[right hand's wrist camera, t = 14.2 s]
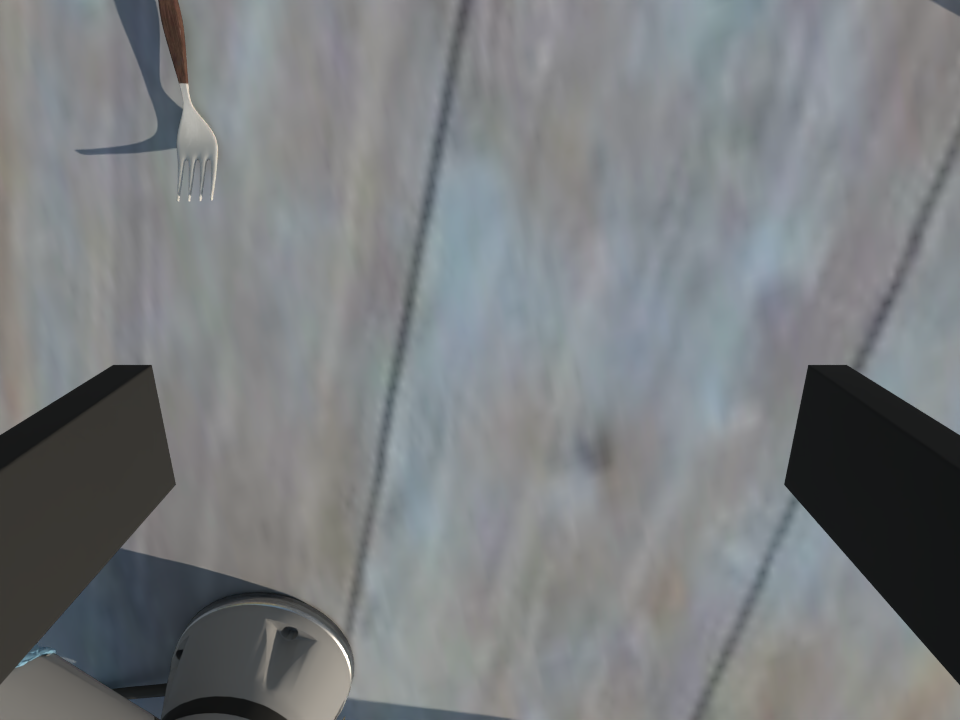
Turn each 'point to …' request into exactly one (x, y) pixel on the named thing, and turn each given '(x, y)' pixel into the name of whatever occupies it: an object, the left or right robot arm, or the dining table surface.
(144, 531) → the dining table surface
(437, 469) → the dining table surface
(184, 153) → the fork
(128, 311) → the dining table surface
